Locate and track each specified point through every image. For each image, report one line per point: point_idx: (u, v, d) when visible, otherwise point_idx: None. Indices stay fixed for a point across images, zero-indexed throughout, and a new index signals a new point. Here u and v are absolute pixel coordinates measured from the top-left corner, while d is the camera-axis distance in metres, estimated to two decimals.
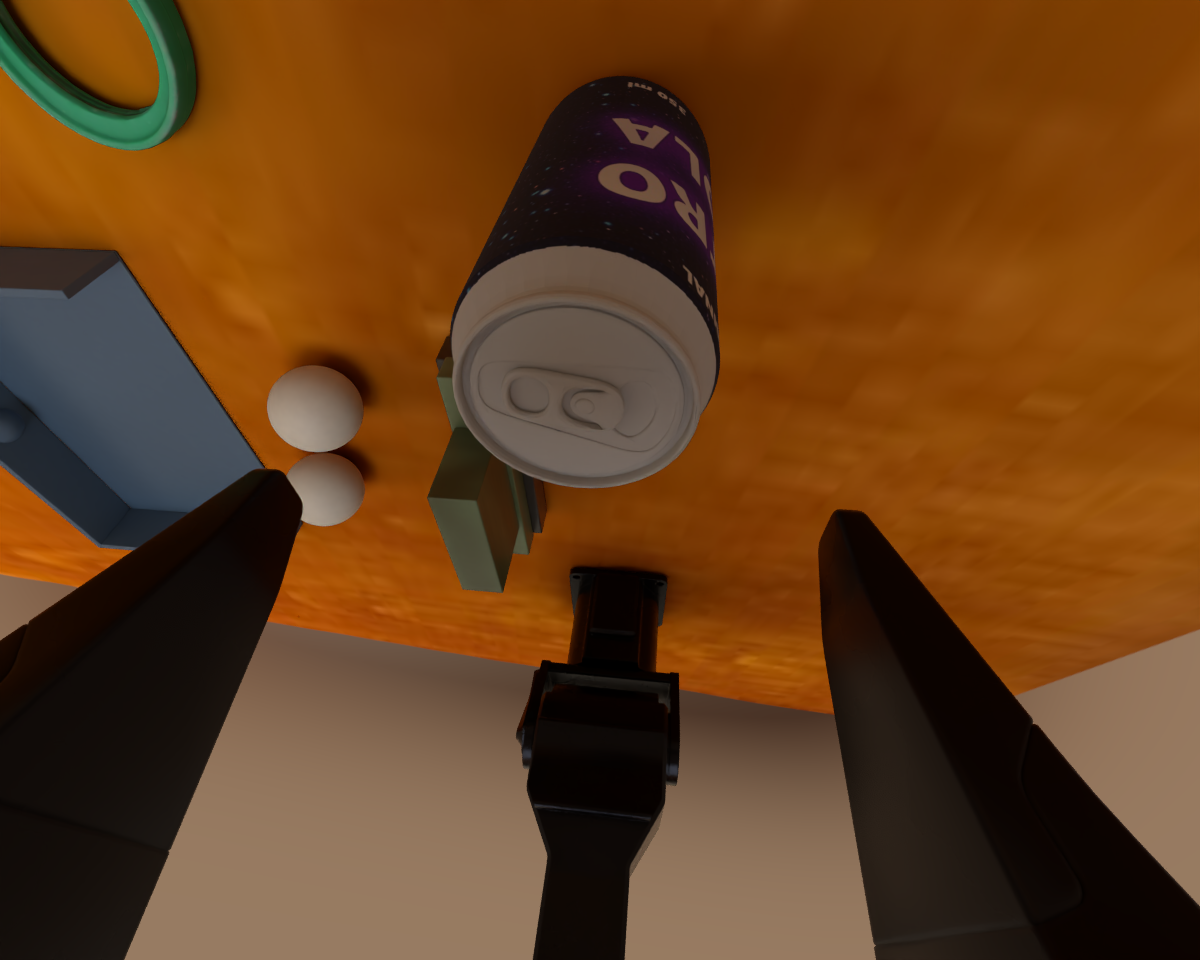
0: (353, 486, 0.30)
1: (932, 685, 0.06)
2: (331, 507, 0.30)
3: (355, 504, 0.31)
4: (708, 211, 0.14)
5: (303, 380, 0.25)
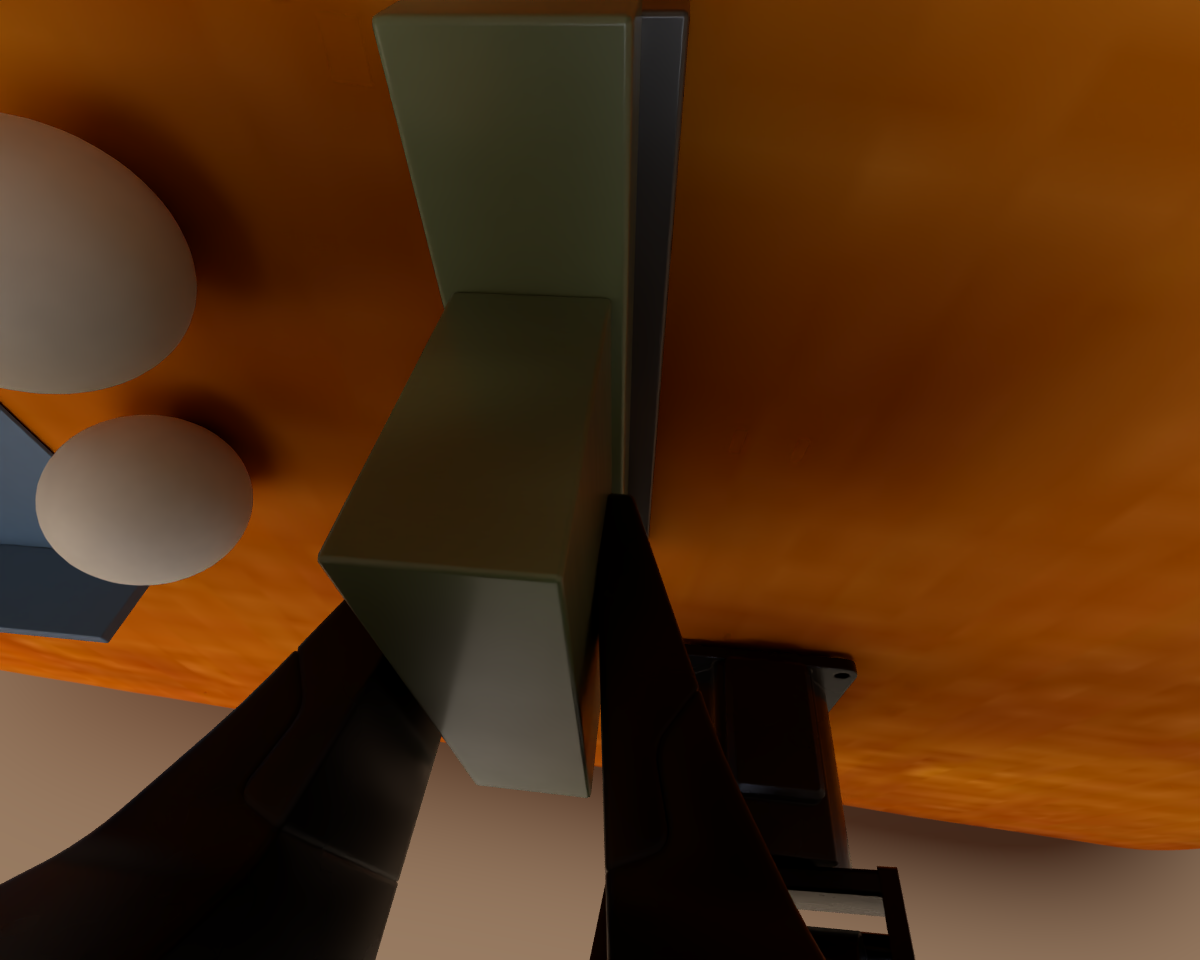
0: (211, 494, 0.13)
1: (624, 656, 0.07)
2: (149, 545, 0.12)
3: (221, 535, 0.13)
4: None
5: None
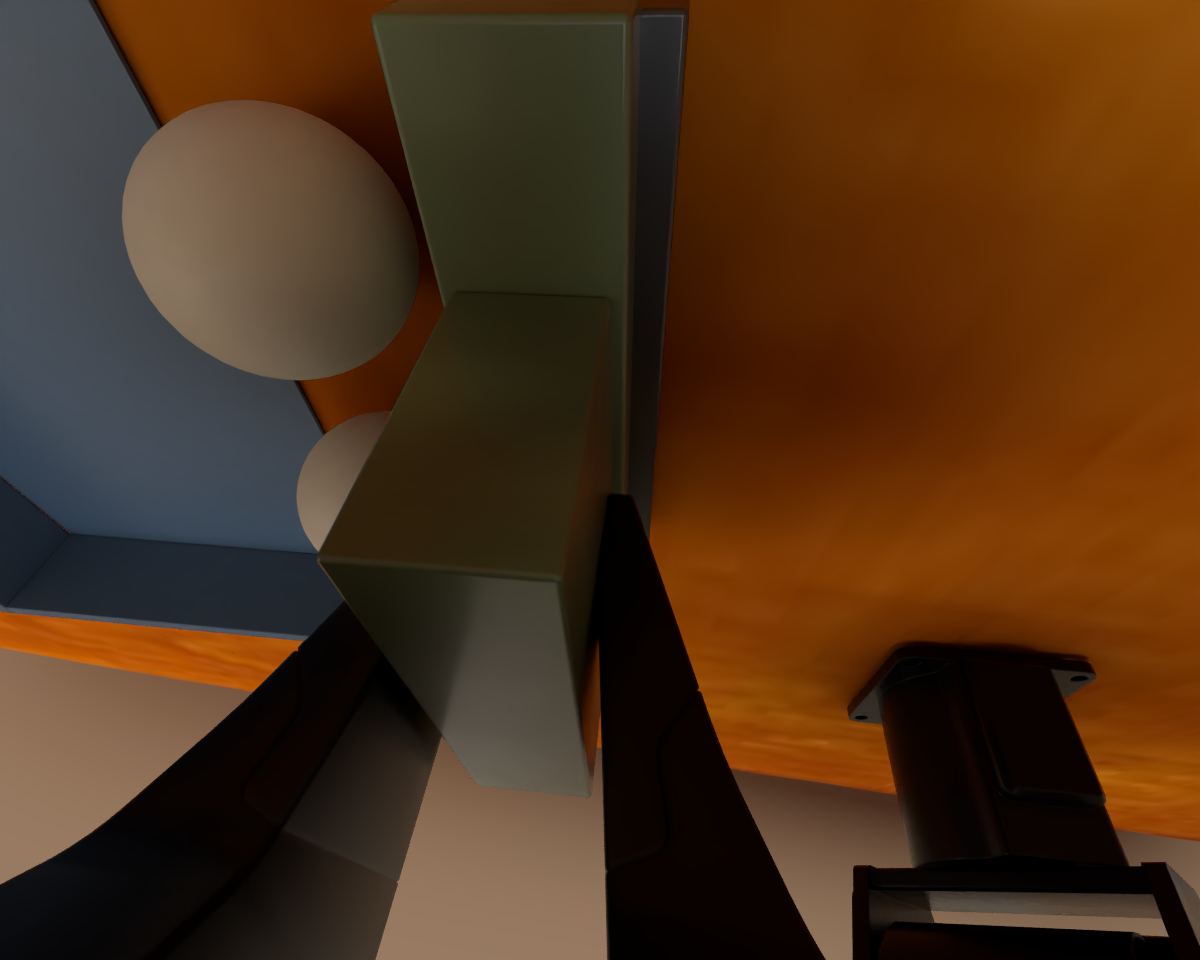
0: None
1: (624, 656, 0.07)
2: (314, 538, 0.12)
3: None
4: None
5: (188, 112, 0.07)
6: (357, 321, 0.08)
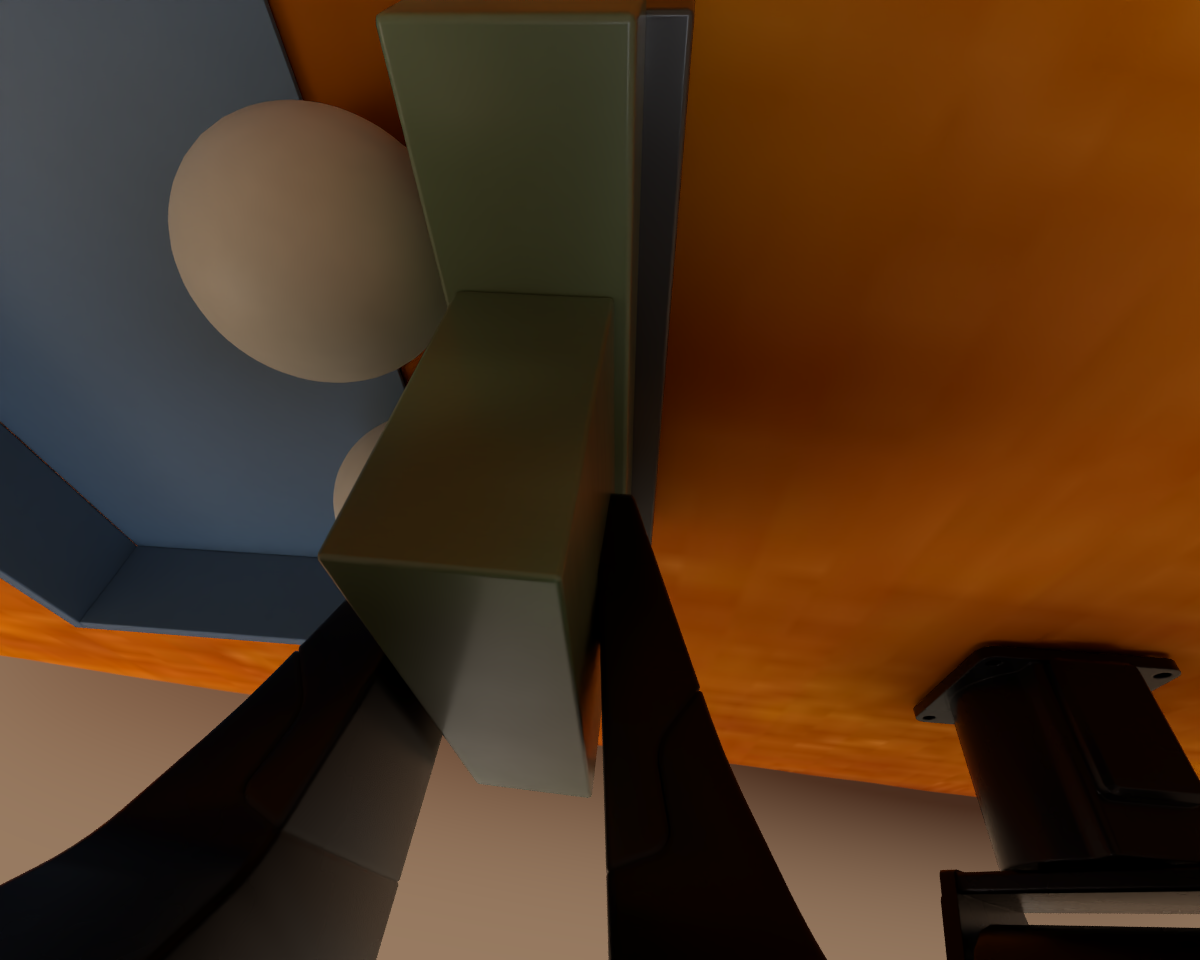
0: None
1: (625, 656, 0.07)
2: None
3: None
4: None
5: (262, 102, 0.08)
6: (262, 346, 0.08)
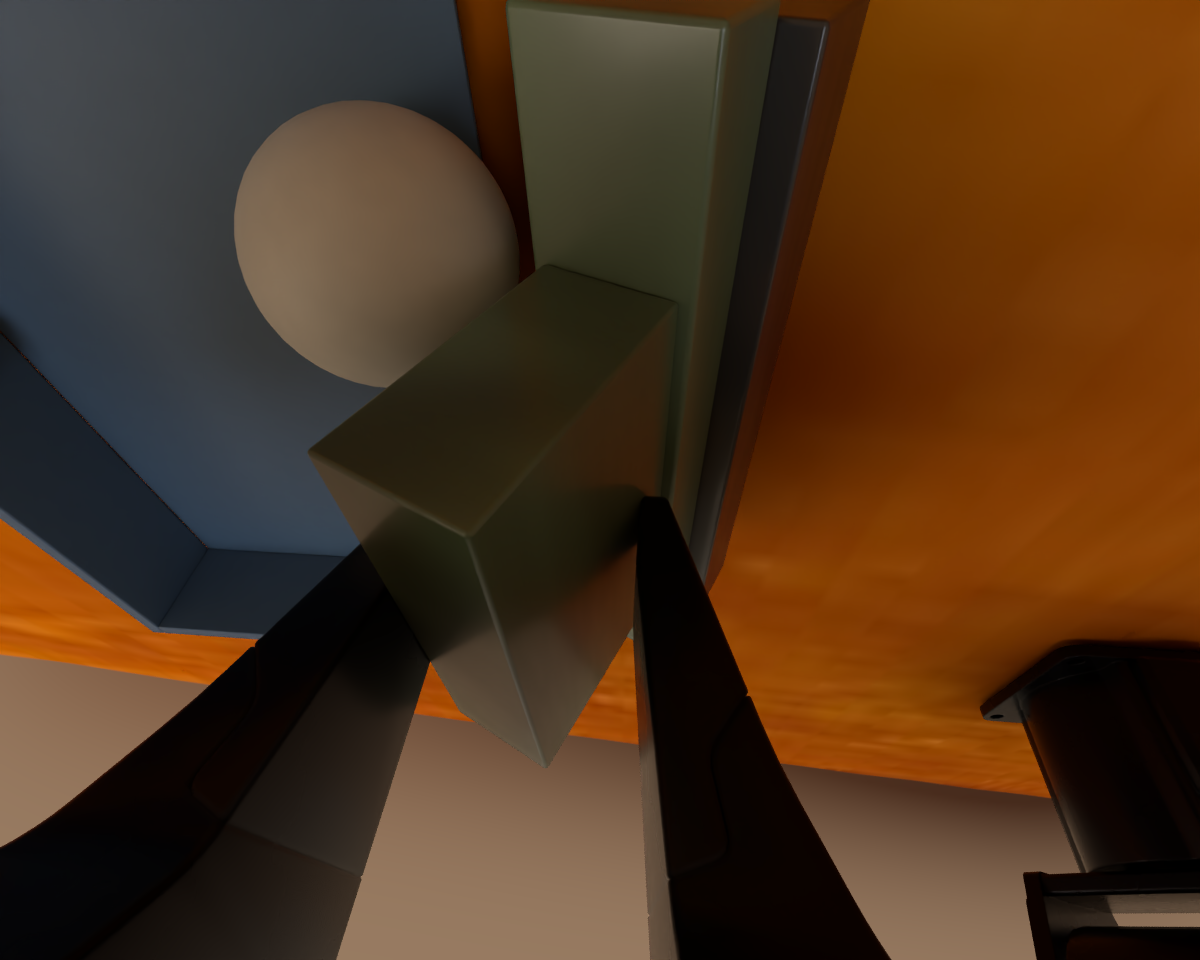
0: None
1: (670, 661, 0.07)
2: None
3: None
4: None
5: None
6: (273, 327, 0.08)
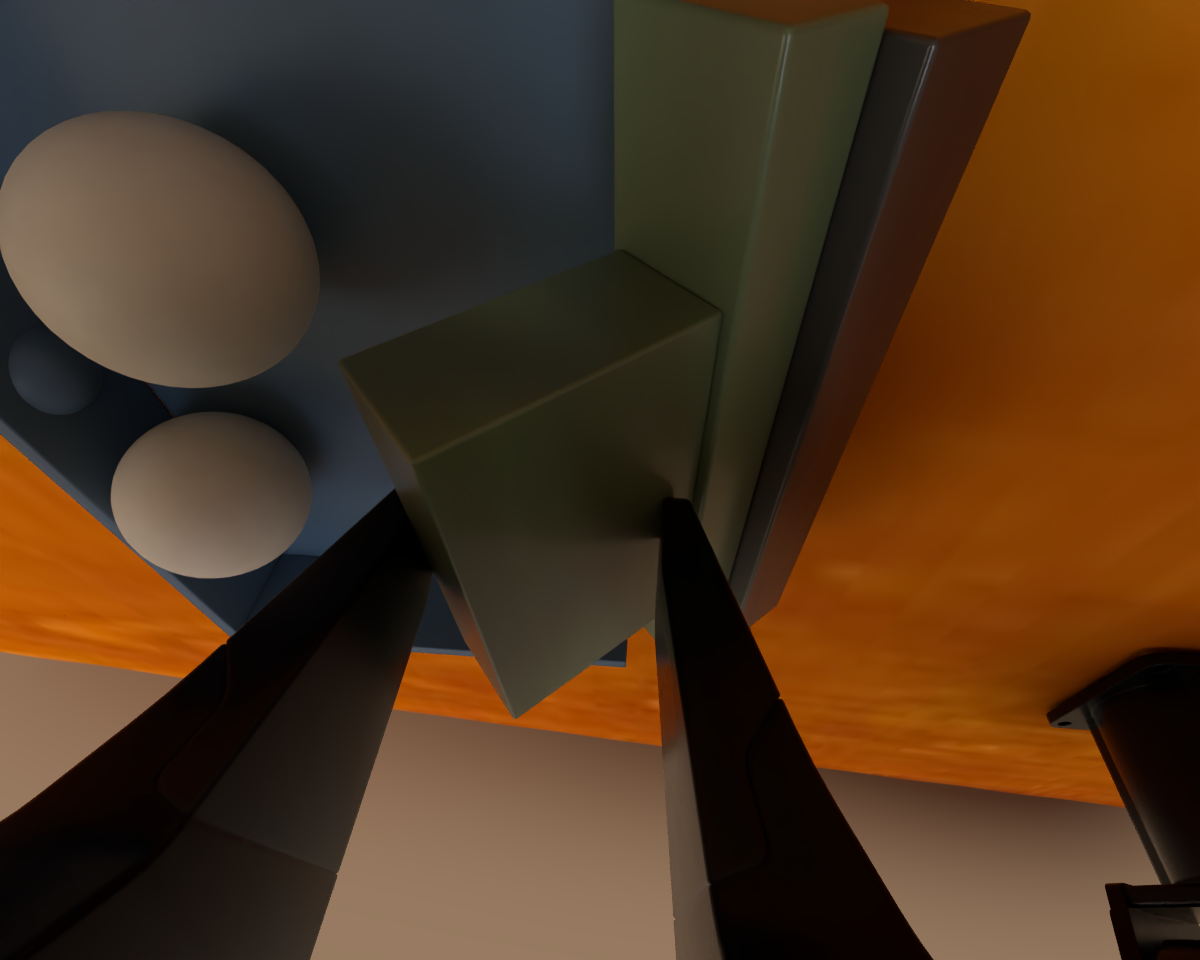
0: (192, 542, 0.12)
1: (699, 663, 0.07)
2: (129, 539, 0.12)
3: (193, 571, 0.13)
4: None
5: (73, 130, 0.07)
6: None
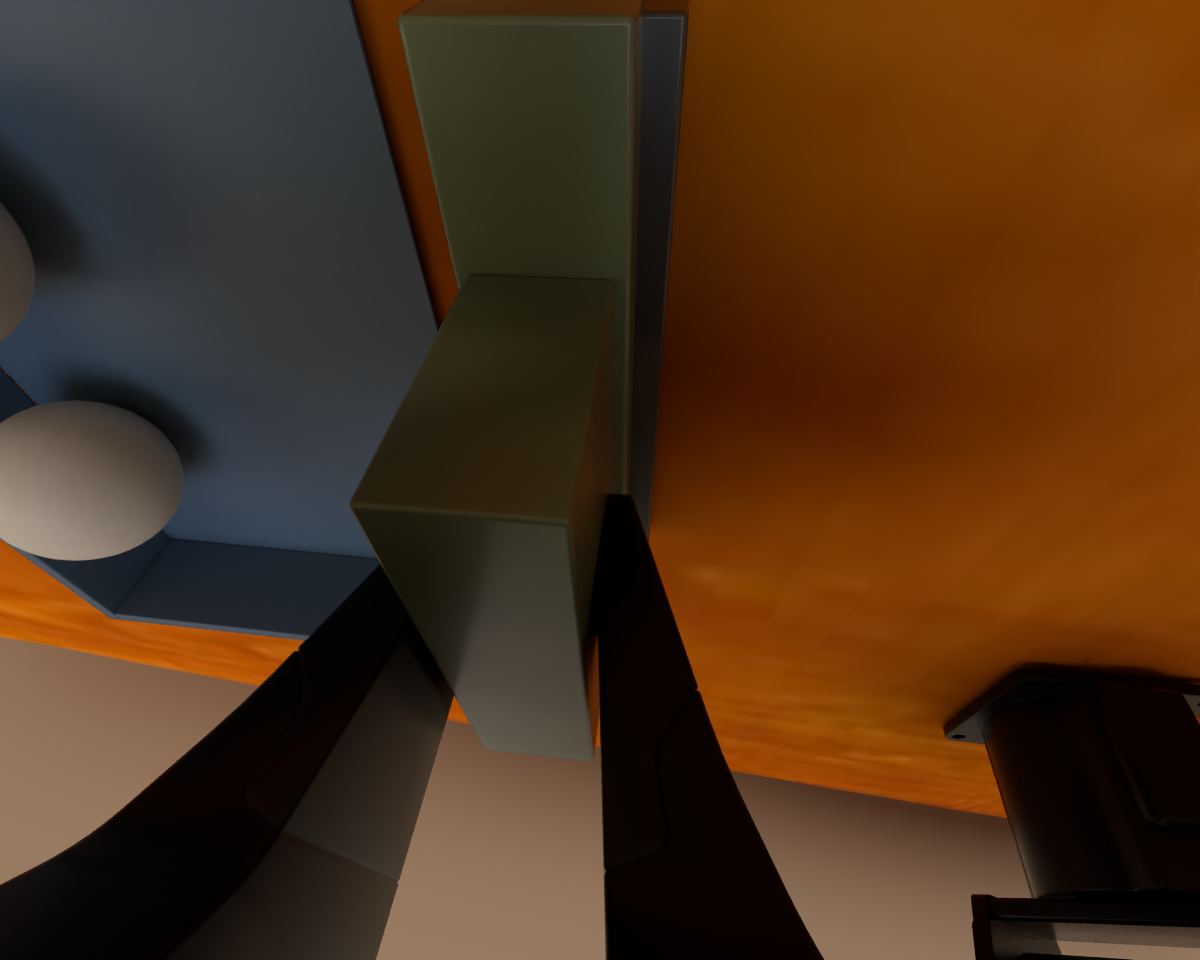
0: (67, 519, 0.13)
1: (624, 656, 0.07)
2: None
3: (74, 550, 0.13)
4: None
5: None
6: None
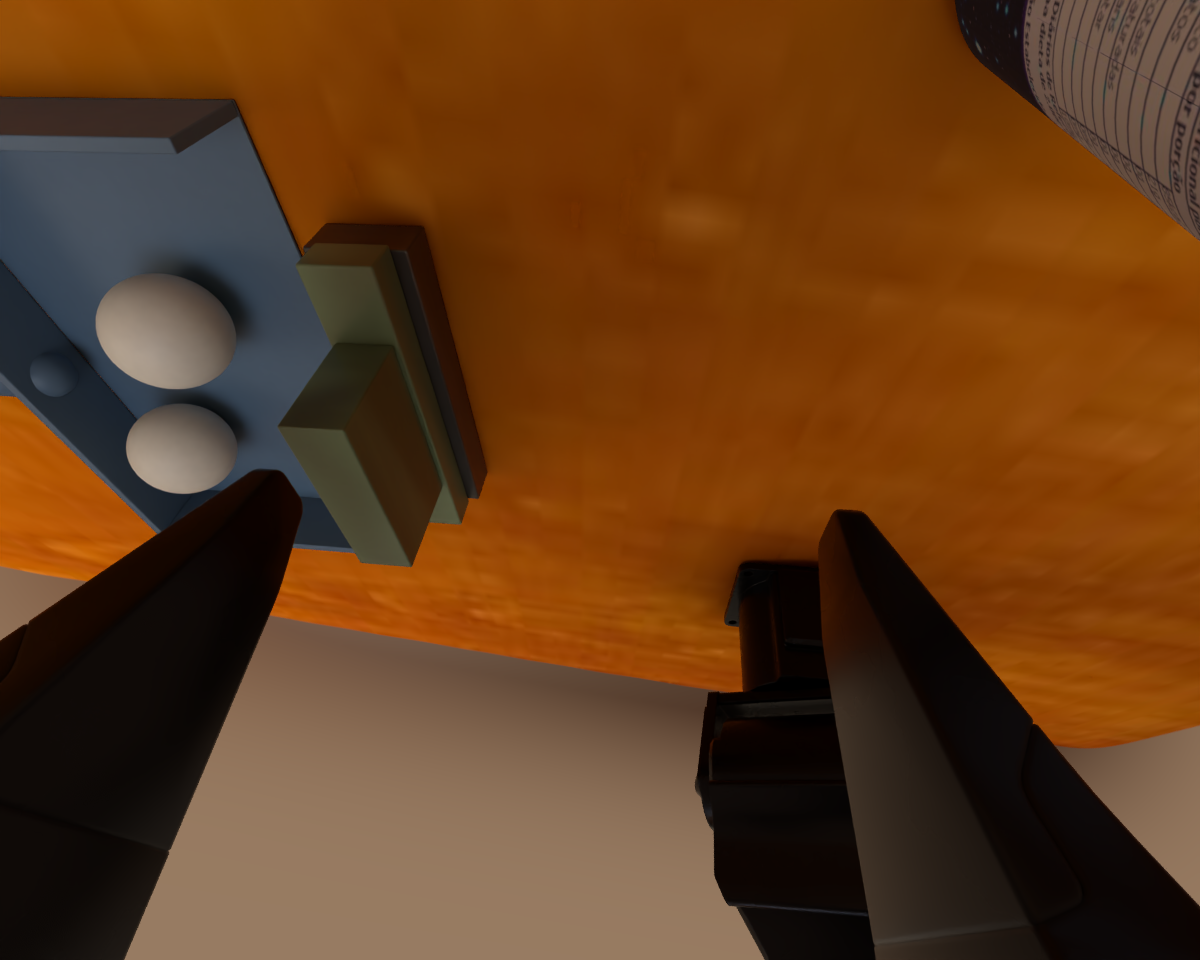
0: (211, 453, 0.24)
1: (932, 686, 0.06)
2: (177, 475, 0.24)
3: (215, 474, 0.25)
4: None
5: (142, 285, 0.19)
6: None
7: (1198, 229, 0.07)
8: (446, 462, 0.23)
